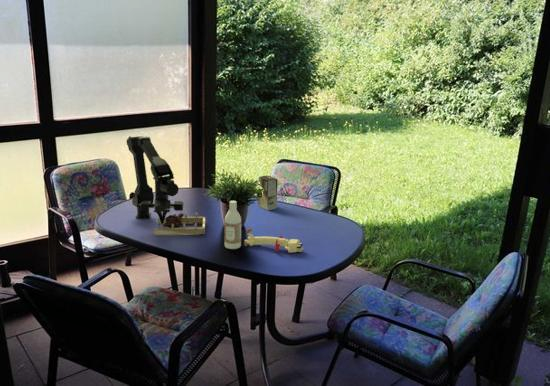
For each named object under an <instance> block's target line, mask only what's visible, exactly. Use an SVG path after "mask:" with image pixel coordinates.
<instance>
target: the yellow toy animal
mask: <svg viewBox="0 0 550 386" xmlns="http://www.w3.org/2000/svg"><path fill="white" fill-rule="evenodd" d="M245 232H246V235H247V239H244V243H243V245H244V247H248V245H250V246H252V247H253V246H258V245H259V246H264V245H268V246H274V250H275V252H276V253H277V252H278V251H280V248H281V247H282V248H284V250H287V252H288V253H292V254H293V253H297V252H298V253H299V252H300V253H301V252H303V250H304V247H302V246H303V243H302V242H300V240H299V239H297V238H296V239H295V238H291V239H286V238H285V237H283V235H281V234H279V236H280V237H278V236H277V237H276V236H264V235H262V236H254V235H253V234H252V233H251V232H253V228H252V227H249V228H247V230H246V231H245Z"/></svg>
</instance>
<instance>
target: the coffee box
mask: <svg viewBox="0 0 550 386" xmlns="http://www.w3.org/2000/svg"><path fill="white" fill-rule="evenodd" d="M258 181H260V185H261V187H262V188H263V190H264V191H263V196H262V197H261V198H258V197H257V200H258V201H257V202H258V203H257V206H258V207H260V208H262V209H264V210H265V211H270V210H271V211H272V210H276V209H277V208H278V205H277V204H278V179H277V178H275V177H273V176H270V175H261V176H258Z"/></svg>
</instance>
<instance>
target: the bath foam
mask: <svg viewBox="0 0 550 386" xmlns="http://www.w3.org/2000/svg"><path fill="white" fill-rule="evenodd" d="M237 203H238V202H237V201H236V200H230V201H229V209H228V211H227V213H226V215H225V217H224V247H225V249H229V250H237V249H239V248H241V246H242V216H241V215H240V213H239V211H238V210H237V208H238V206H237V205H238V204H237Z"/></svg>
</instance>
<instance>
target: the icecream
mask: <svg viewBox="0 0 550 386" xmlns="http://www.w3.org/2000/svg"><path fill="white" fill-rule="evenodd" d="M165 217H166V223H165V224H162V228H172V224H174V228H180V226H181V223H182V221H181V218H182V217H185V213H183V212H180V213H179V214H178V215H177V214H176V215H174V214H171V215H168V216H165Z"/></svg>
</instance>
